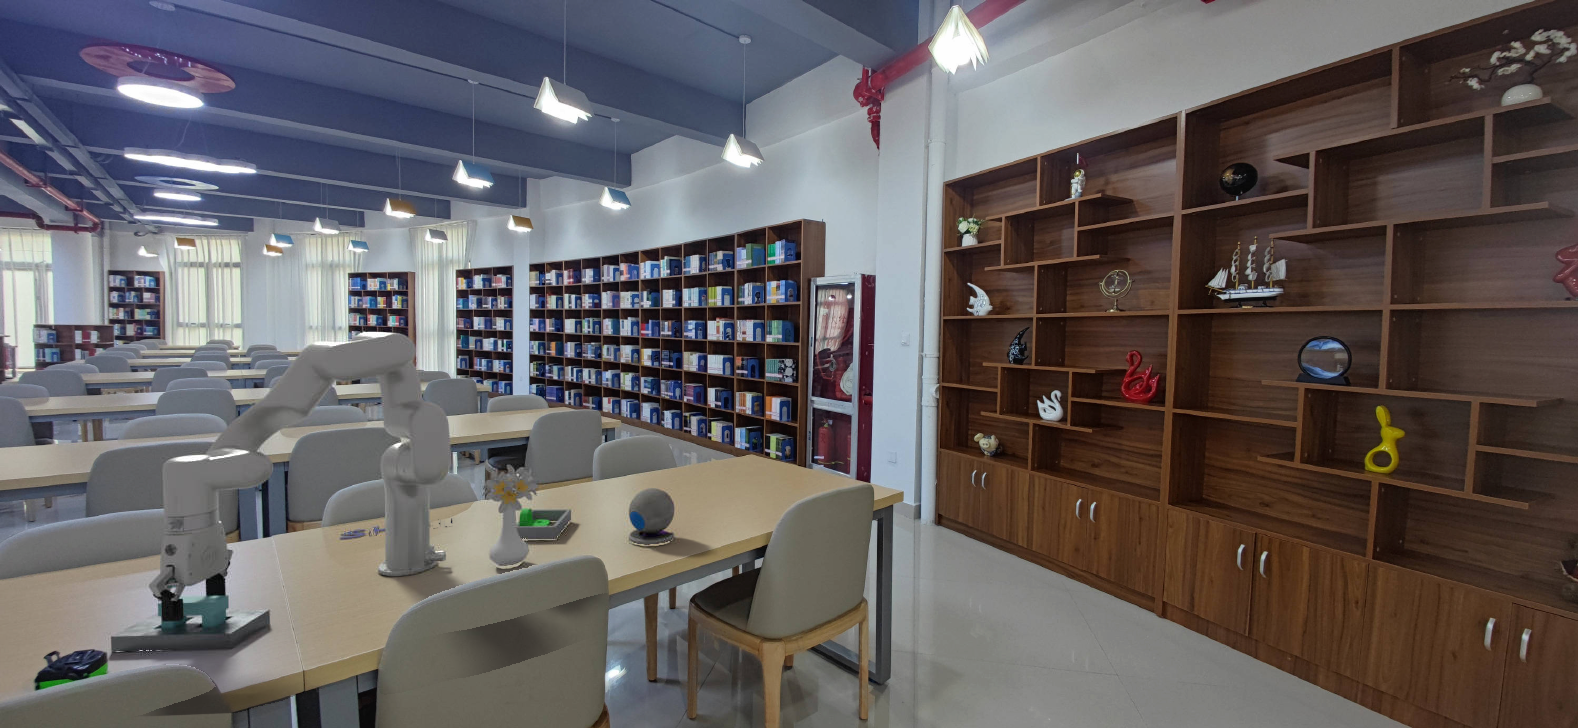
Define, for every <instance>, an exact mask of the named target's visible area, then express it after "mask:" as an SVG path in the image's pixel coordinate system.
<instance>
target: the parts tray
mask: <svg viewBox="0 0 1578 728" xmlns="http://www.w3.org/2000/svg"><path fill="white" fill-rule="evenodd" d="M531 510H532V520H541V519H543V520H549V521H557V522H556V523H553V525H550V526H519V521H517V522H516V528H517V532H518V534H519V536H520V538H521V539H523V538H524V539H525V538H526V539H556V538H557V536H558V535H559V534H560V533H561V531H562V530H563V529H564V528H565V526H566V525H567V524H568V522H569V521H570V520H571V521H572V509H571V508H570V509H569V508H568V509H567V508H566V509H564V508H563V509H560V508H559V509H558V508H557V509H556V508H555V509H531ZM557 539H558V538H557Z"/></svg>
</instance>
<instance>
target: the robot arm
mask: <svg viewBox="0 0 1578 728" xmlns="http://www.w3.org/2000/svg"><path fill="white" fill-rule="evenodd" d="M415 356H416V346H415V343H414V342H413V340H412V339H411V338H409V337H408V336H407V335H405V334H402V333H399V332H398V333H397V332H383V331H367V332H365V331H364V332H361V333H358V334H356V335H354V336H353V337H352V338H351V340H350V341H345V342H344V341H343V342H339V341H338V342H336V341H335V342H334V341H317V342H316V341H315V342H313V343H311V344H309V345H307V346H306V347H305V348H303V349H302V351H301V352H300V353H299V354H298V355H297V356H296V358H295V359H294V360H293V361H292V362H291V363H290V365H289V366H288V368H287V369H286V370H285V371H284V373H283V374H282V375H281V377H280V378H279V379H278V380H277V382H275V384H274V385H273V386H272V388H271V389H270V391H268V392H267V394H266V395H265V396H264V397H263V398H261V400H259V401H257V402H256V403H255V404H253V405H251V406H250V408H248V409H247V410H245V412H243V413H242V414H240V415H239V416H238V417H236V418H235V419H234V420H233V421H232V422H231V423H229V425H228V426H227V427H226V428H225V429H224V430H223V431H222V432H221V434H220V435H219V436H218V437H217V439H216V440H215V441H214V442H213V443H212V445H211V446H210V447H209V448H208V450H207V451H206V453H205V454H191V455H182V456H178V457H177V456H176V457H173V458H169V459H168V460H166V461H165V462H164V463H163V465H162V491H163V493H162V494H163V495H162V496H163V516H164V517H163V518H164V520H163V521H164V522H163V524H164V525H163V526H164V527H163V528H164V533H165V534H163V536H162V537H163V538H162V543H161V551H160V562H159V563H160V565H159V568H160V569H159V571H160V573H159V574H158V575H157V576H156V577H155V578H154V579H153V580H152V581H151V582H150V583H149V584H148V588H149V590H150V591H151V593H152V594H153V595H152V596H153V597H154V598H156V599H157V601H158V602H161V608H162V621H180V620H182V619H183V618H184V614H183V599H179V598H180V597H182V593H183V592H184V590H185V588H186V587H191V586H195V585H197V584H199V583H201V582H203V581H205V596H227V595H226V594H227V592H226V591H227V590H226V577H227V576H228V575H229V571H228V569H229V567H230V566H231V559H232V556H233V554H234V550H233V549H229V548H228V543H227V538H226V532H225V529H224V528H225V527H224V526H223V523H222V521H220V507H219V506H220V503H219V501H220V500H219V491H225V490H226V491H228V490H242V489H245V490H246V489H250V488H255V487H257V486H260V485H261V484H263V483H265V482H266V481H267V480H268V479H269V478H270V477H271V475H272V474H273V471H274V465H273V461H272V459H271V458H270V457H269V456H267V455H266V454H265V453H263V452H261V451H258V450H259V449H260V448H261V447H262V445H263V444H265V442H266V441H268V439H269V438H270V437H271V438H272V437H273V435H275V434H276V433H278V432H279V431H281V430H284V429H285V428H288V427H290V426H292V425H294V424H298V423H300V422H302V421H304V420H305V419H307V418H308V417H309V416H310V415H311V414H312V413H313V411H315V409H316V408H317V406H318V405H319V403H320V402H321V401H322V399H323V398H324V397H325V395H326V394H327V392H328V391H329V390H330V389H331V387H332V386H333V385H334V384H335V382H352V381H353V382H354V381H357V380H362V379H367V378H372V377H376V379H377V382H378V384H379V389H380V396H381V408H382V409H381V410H382V420H383V427H384V429H385V432H387V433H388V434H389V435H390V436H392V437H395V438H399V439H404V440H405V439H406V440H409V441H401V442H397V443H395V444H394V443H393V445H392V444H391V446H389V447H388V448H386V450H385V451H384V452H383V454H382V456H381V459H380V473H381V478H382V482H383V488H384V503H385V504H384V506H385V507H384V528H385V532H384V536H385V539H384V543H385V548H384V549H385V561H383V562H381V563H380V564H379V565H378V566H377V571H378V574H380V575H382V576H385V575H386V576H388V577H401V576H402V577H404V576H410V575H409V574H411V575H415V574H414V573H416V574H419V573H418V572H420V573H423V572H425V570H426V571H427V570H430V569H432V568H433V566H434V565H435V564H436V565H437V563H438V562H445V561H446V560H447V554H446V551H445V550H439V551H436V550H435V545H432V544H431V543H430V542H431V535H430V533H431V531H430V530H431V528H430V527H431V521H430V519H431V517H430V514H431V513H430V512H431V511H430V509H431V508H430V499H431V497H430V490H429V489H430V488H429V486H433V485H437V484H439V483H441V482H442V481H443V480H444V479H445V478H446V477H447V476H448V474H449V472H450V468H451V465H452V463H451V462H452V455H451V454H452V451H451V438H450V437H451V436H450V424H449V418H448V416H447V414H446V412H445V410H444V409H443V408H442V407H441V406H440V405H438V404H436V403H433V402H431V401H424V399H423V392H422V391H423V390H422V386H421V379H420V374H419V371H418V369H417V367H416V366H415V363H413V361H414V359H415ZM436 565H435V566H436ZM435 566H434V567H435ZM422 571H423V572H422ZM403 575H404V576H403ZM172 588H173V589H174V588H175V589H174V592H172V591H171V590H172Z"/></svg>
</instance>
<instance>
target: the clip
mask: <svg viewBox="0 0 1578 728" xmlns="http://www.w3.org/2000/svg"><path fill="white" fill-rule="evenodd" d="M179 599H183V614H184V618H183V619H182V620H180V621H162V608H161V601H159V602H158V603H157V614H158V616H161V629H166V628H176V627H177V626H179V625H181V624H183V623H185V622H187V616H196V615H202V628H206V627H216V626H218V625H219V624H221V623H223V622H225V621H226V611H227V610H228V609H229V607H230V605H229V599H230V598H229V595H226V596H206V595H197V596H196V595H195V596H194V595H191V596H190V595H189V596H187V595H185V596H183V595H181V596H180V598H179Z"/></svg>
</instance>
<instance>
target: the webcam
mask: <svg viewBox="0 0 1578 728" xmlns="http://www.w3.org/2000/svg"><path fill="white" fill-rule="evenodd" d="M674 516H675V504H674V501H673V498H671V496H670V494H669V493H667V492H666V491H664V490H662V489H659V488H655V487H654V488H653V487H651V488H645V489H643V490H641V491H640V492H638V493H637V494H636V495H635V496H634V497H633V498H632V500H631V501H630V503H629V506H628V517H629V520H630V521H629V522H630V523H631V525H632V526H633V527H634V529H635V530H633V531H631V532H630V533H629V534H628V542H629V541H631V542H633V543H637V544H644V545H650V544H659V543H665V542H668V541H671V540H672V539H673V538H674V539H675V533H674V532H672V531H671V532H669V531H668V530H666V529H667V528H668V527H669V526H670V524H671V523H672V522H673V519H674Z"/></svg>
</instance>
